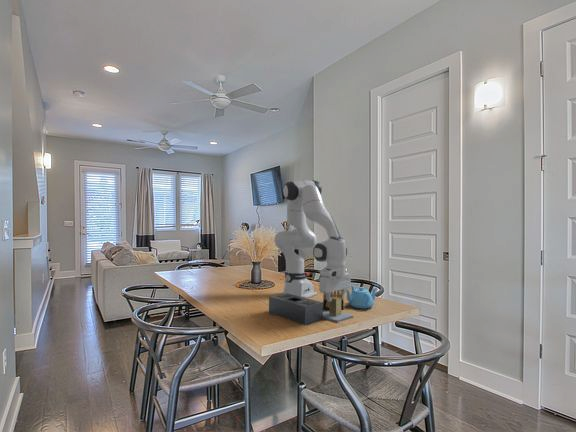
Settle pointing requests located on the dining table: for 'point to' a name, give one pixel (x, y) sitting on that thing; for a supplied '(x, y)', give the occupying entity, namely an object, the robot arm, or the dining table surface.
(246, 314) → the dining table surface
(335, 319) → the slate mat
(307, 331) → the dining table surface
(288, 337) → the dining table surface
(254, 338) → the dining table surface
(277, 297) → the dark grey socket block
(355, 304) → the teapot
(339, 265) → the robot arm
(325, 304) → the ammunition clip
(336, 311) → the brass plug
